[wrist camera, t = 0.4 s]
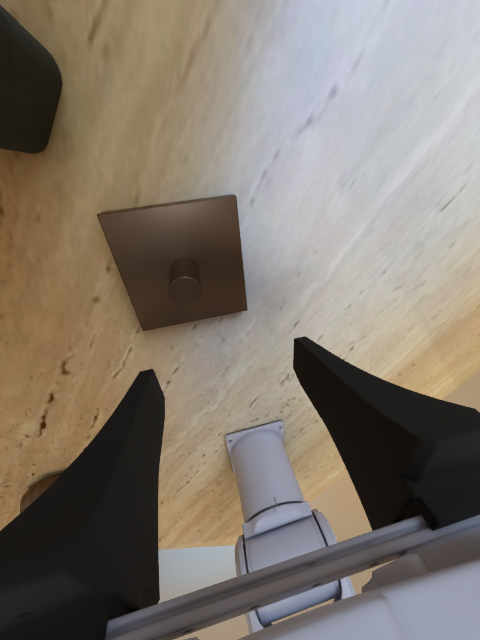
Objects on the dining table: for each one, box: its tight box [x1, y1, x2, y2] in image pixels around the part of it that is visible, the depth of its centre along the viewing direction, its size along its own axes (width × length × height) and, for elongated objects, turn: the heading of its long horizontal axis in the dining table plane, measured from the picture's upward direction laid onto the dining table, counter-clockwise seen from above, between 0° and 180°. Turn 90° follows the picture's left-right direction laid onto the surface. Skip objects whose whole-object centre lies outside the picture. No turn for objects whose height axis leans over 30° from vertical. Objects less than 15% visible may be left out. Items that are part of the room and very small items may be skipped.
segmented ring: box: [20, 474, 61, 514], centre depth 29 cm, size 11×11×2 cm
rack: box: [97, 195, 247, 331], centre depth 16 cm, size 9×9×5 cm
